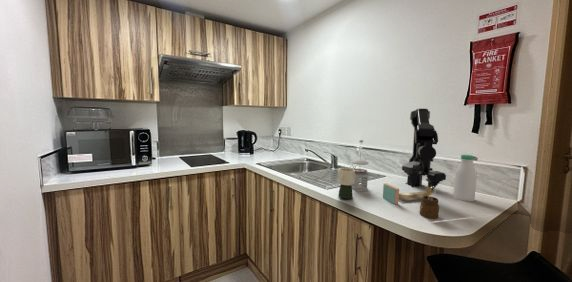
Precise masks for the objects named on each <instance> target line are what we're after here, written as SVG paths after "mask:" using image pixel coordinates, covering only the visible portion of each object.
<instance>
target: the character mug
mask: <svg viewBox="0 0 572 282" xmlns="http://www.w3.org/2000/svg"><path fill="white" fill-rule="evenodd" d="M337 174H338V178H337V181H338V183H339V184H340V185H339V188H338V189H339V190H338V197H339V198H341V199H343V200H344V199H345V200H346V199H348V200H349V199H350V200H351V199H353V197H354V196H353V195H354V194H353V190H352V186H351V185H354V182H355V170H354V168H353V169H352V167H351V168H350V167H340V168H338V172H337Z"/></svg>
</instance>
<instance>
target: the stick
mask: <svg viewBox="0 0 572 282" xmlns="http://www.w3.org/2000/svg"><path fill="white" fill-rule="evenodd" d="M423 196H428V195H427V194H426V191H415V192H402V193H401V192H399V199H400V200H402V201H405V200H417V199H422V197H423Z"/></svg>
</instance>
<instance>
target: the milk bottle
mask: <svg viewBox="0 0 572 282" xmlns="http://www.w3.org/2000/svg"><path fill="white" fill-rule="evenodd" d="M460 160H461V162H460V163H459V165H458V167H457V168H456V170H455V174H454V181H453V192H452V197H453V198H454V199H456V200H459V201H465V202H470V203H471V202H474V201H475V198H476V188H477V180H478V179H477V178H478V176H477V171H476V168H475V166H474V161H475V156H474V155H470V154H461V156H460Z"/></svg>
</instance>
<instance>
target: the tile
mask: <svg viewBox="0 0 572 282" xmlns="http://www.w3.org/2000/svg"><path fill="white" fill-rule="evenodd" d="M382 189H383V190H382V198H383V199H384V200H386V201H387V202H390V203H391V204H393V205H399V201H398V200H399V194H400V188H398V187H396V186H394V185H391V184H389V183H383V187H382Z"/></svg>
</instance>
